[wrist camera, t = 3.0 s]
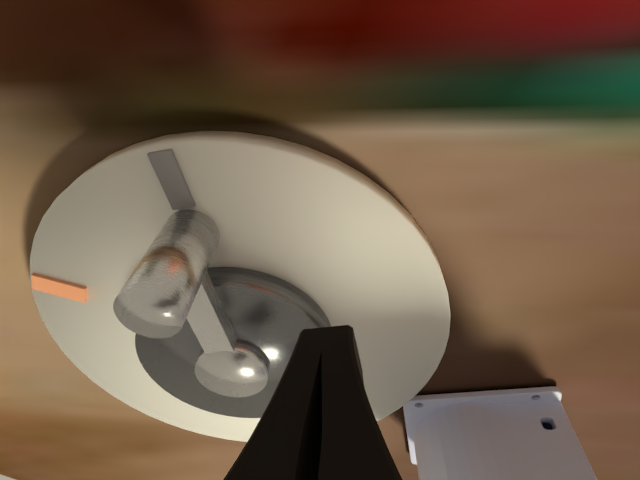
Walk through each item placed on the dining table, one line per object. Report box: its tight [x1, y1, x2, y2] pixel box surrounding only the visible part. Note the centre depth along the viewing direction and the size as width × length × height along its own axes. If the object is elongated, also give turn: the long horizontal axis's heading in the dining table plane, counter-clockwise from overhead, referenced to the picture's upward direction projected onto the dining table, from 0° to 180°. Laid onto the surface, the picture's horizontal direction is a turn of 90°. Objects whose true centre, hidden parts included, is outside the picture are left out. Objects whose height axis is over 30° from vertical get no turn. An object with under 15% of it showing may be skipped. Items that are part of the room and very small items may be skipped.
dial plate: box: [30, 131, 451, 442], centre depth 23 cm, size 22×22×1 cm
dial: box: [113, 209, 331, 418], centre depth 19 cm, size 13×10×5 cm
